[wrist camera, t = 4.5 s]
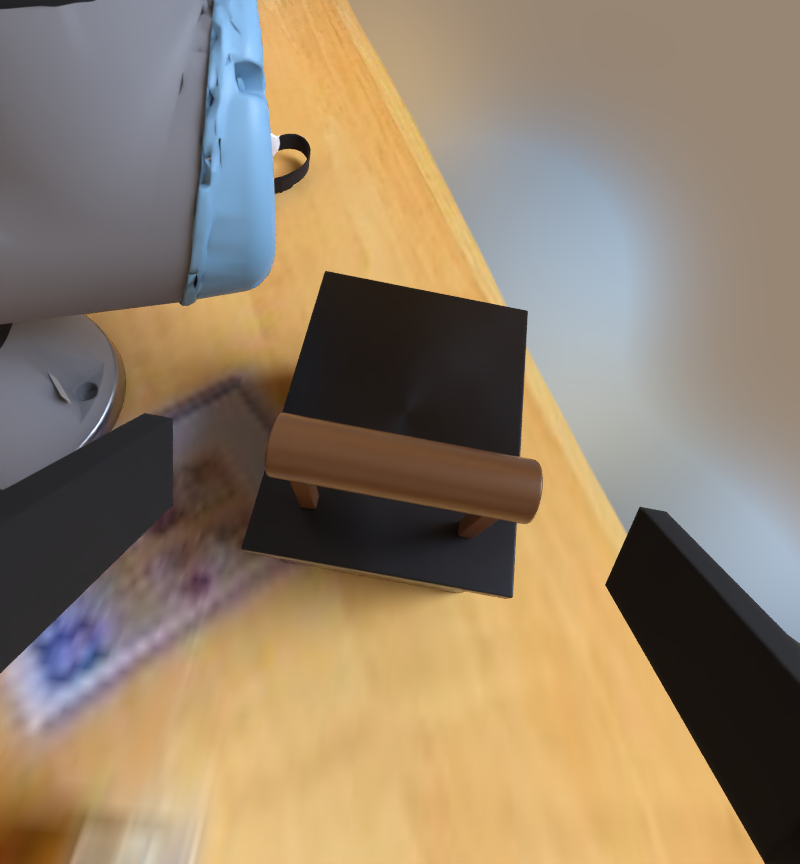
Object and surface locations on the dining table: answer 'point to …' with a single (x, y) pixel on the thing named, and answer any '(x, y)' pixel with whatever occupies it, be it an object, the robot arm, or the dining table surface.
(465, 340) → the bacon press
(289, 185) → the watch
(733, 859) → the dining table surface
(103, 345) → the robot arm
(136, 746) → the dining table surface
